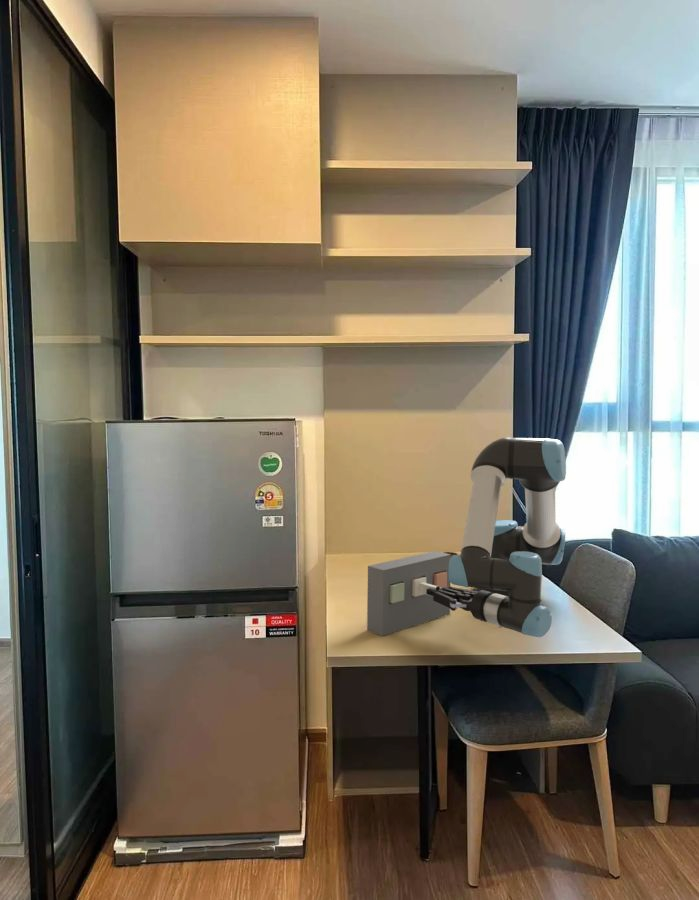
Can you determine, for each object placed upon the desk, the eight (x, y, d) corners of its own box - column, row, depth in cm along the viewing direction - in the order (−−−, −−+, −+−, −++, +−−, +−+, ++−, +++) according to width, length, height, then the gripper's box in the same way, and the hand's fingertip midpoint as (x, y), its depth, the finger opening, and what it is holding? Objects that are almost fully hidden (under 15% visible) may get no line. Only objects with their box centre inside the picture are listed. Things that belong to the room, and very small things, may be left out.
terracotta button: (432, 583, 197) (432, 568, 197) (446, 587, 193) (447, 572, 193) (422, 586, 194) (422, 571, 194) (436, 590, 190) (436, 575, 190)
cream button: (411, 589, 191) (412, 573, 191) (426, 593, 187) (426, 577, 187) (400, 592, 188) (401, 576, 188) (415, 596, 184) (415, 580, 184)
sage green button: (389, 595, 185) (390, 579, 185) (404, 599, 181) (404, 583, 181) (378, 598, 182) (378, 582, 182) (392, 603, 178) (392, 586, 178)
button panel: (434, 609, 201) (435, 550, 199) (449, 614, 196) (451, 554, 195) (367, 630, 182) (367, 565, 181) (382, 636, 178) (383, 570, 176)
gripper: (475, 628, 164) (405, 605, 181) (505, 616, 172) (436, 596, 190) (475, 598, 163) (405, 578, 181) (506, 588, 172) (436, 570, 189)
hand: (421, 587), depth 185 cm, fingers closed
